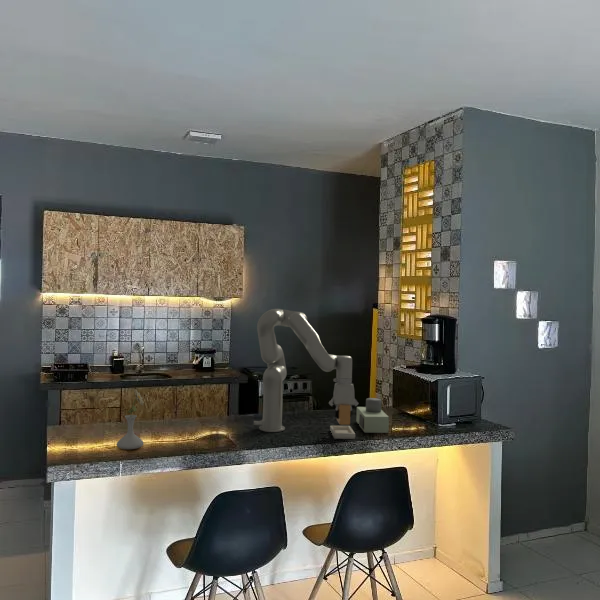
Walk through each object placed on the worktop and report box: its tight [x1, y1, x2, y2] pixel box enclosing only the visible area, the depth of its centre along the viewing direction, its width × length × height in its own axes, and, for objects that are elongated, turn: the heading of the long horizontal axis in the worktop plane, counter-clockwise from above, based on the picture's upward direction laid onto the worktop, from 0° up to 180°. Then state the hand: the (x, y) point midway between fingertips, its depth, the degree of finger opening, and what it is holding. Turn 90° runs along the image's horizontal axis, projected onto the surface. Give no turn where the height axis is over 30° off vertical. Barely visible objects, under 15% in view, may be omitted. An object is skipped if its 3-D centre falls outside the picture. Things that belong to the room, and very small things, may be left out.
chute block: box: [336, 405, 351, 426], centre depth 295 cm, size 5×11×9 cm, turn 4°
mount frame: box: [329, 425, 356, 440], centre depth 295 cm, size 10×16×2 cm, turn 4°
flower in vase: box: [116, 388, 145, 450], centre depth 260 cm, size 13×11×25 cm
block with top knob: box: [356, 397, 390, 434], centre depth 313 cm, size 13×24×14 cm, turn 5°
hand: (343, 417), depth 295 cm, fingers closed on chute block, 5 cm apart
